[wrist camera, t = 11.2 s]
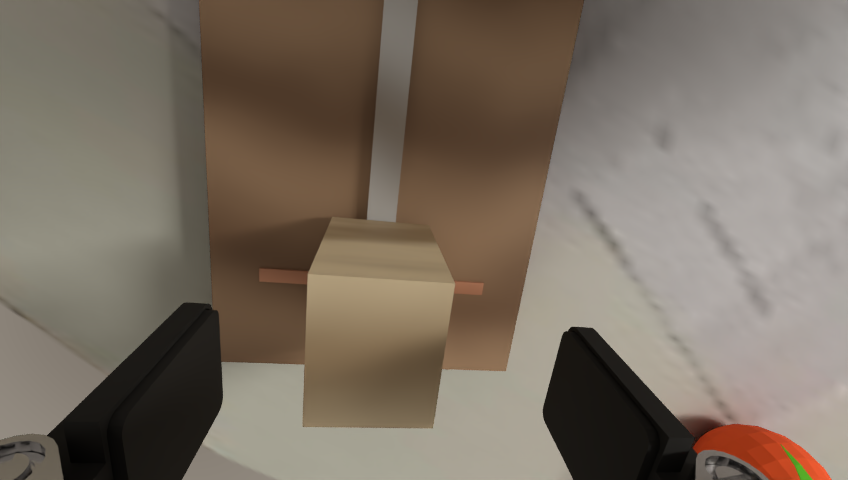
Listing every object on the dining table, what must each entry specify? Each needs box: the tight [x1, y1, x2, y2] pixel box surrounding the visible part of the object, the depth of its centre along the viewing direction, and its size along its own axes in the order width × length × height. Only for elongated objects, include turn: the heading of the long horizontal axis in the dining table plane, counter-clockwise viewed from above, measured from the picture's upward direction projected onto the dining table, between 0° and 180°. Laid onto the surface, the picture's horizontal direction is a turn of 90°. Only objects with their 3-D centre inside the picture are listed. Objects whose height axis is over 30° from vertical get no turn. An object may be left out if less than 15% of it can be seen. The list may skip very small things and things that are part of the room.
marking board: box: [199, 0, 584, 371], centre depth 16 cm, size 24×14×2 cm, turn 173°
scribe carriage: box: [303, 217, 455, 428], centre depth 14 cm, size 6×4×6 cm
